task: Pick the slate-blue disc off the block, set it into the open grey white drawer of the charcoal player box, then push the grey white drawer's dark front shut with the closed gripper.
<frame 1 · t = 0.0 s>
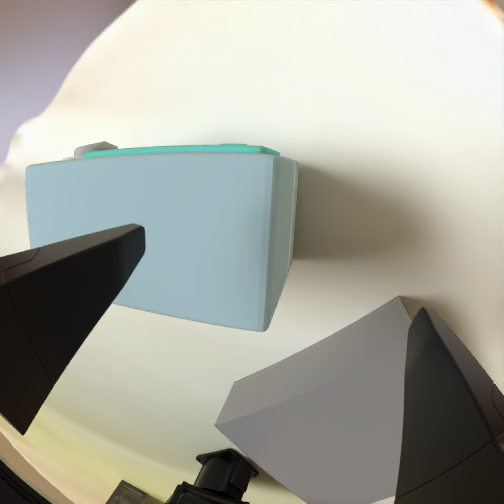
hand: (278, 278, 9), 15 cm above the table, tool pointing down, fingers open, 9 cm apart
radio: (202, 198, 25), on the table
cake mix box: (130, 499, 48), on the table
grey white drawer: (403, 486, 25), point 3 cm above the table, slide at 12.0 cm
player: (359, 411, 27), on the table
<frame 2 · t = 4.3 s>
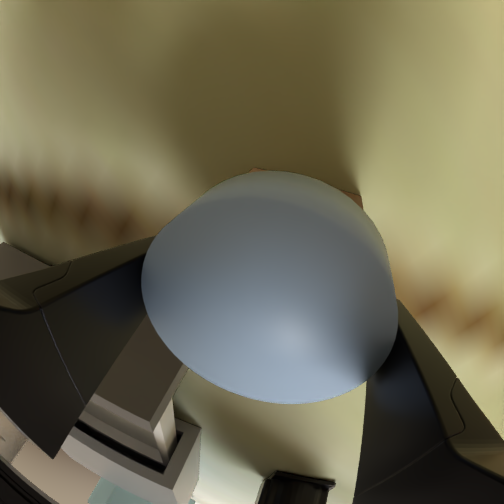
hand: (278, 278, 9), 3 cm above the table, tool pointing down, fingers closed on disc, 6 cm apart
radio: (154, 477, 44), on the table
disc: (277, 281, 9), point 3 cm above the table, touching gripper, block
grey white drawer: (82, 393, 19), point 3 cm above the table, slide at 12.0 cm
player: (129, 429, 29), on the table
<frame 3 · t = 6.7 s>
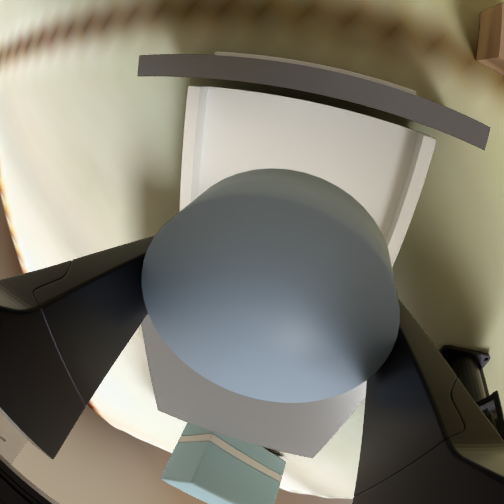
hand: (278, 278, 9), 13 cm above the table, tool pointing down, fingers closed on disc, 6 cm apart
radio: (237, 439, 43), on the table
block: (502, 48, 11), on the table
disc: (278, 279, 9), point 13 cm above the table, touching gripper
grey white drawer: (285, 229, 19), point 3 cm above the table, slide at 12.0 cm
player: (263, 341, 29), on the table
when the fingers open (3 cm above the table, at t = 9.2 s): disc drops 1 cm, resting on grey white drawer.
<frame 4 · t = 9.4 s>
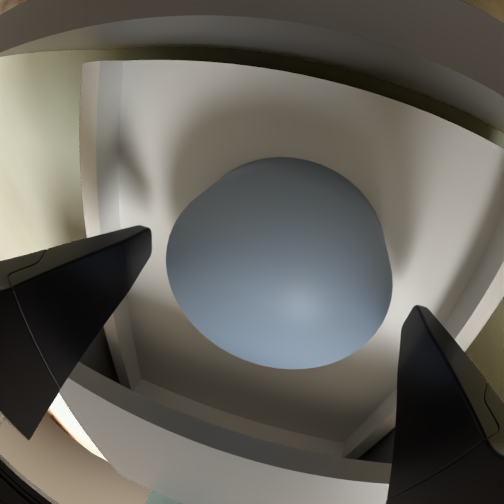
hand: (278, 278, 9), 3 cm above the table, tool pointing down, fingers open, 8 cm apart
radio: (218, 487, 34), on the table
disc: (285, 255, 10), point 2 cm above the table, touching grey white drawer
grey white drawer: (263, 330, 10), point 3 cm above the table, slide at 12.0 cm, touching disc
player: (240, 421, 20), on the table
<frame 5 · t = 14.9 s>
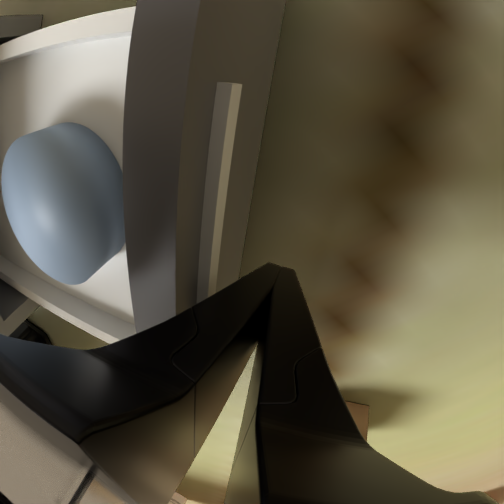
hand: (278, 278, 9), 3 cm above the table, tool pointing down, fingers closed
block: (328, 414, 17), on the table
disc: (74, 195, 11), point 2 cm above the table, touching grey white drawer
grey white drawer: (24, 197, 11), point 3 cm above the table, slide at 11.6 cm, touching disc, gripper
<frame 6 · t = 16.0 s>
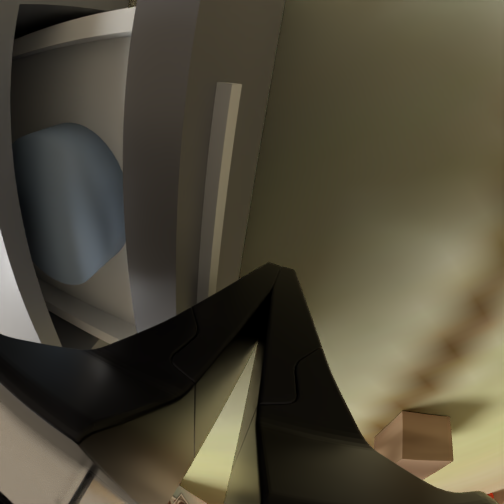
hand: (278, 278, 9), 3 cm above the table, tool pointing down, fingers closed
block: (411, 428, 16), on the table
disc: (74, 195, 11), point 2 cm above the table, touching grey white drawer
cake mix box: (179, 489, 44), on the table
grey white drawer: (24, 198, 11), point 3 cm above the table, slide at 5.2 cm, touching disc, gripper
player: (9, 161, 15), on the table
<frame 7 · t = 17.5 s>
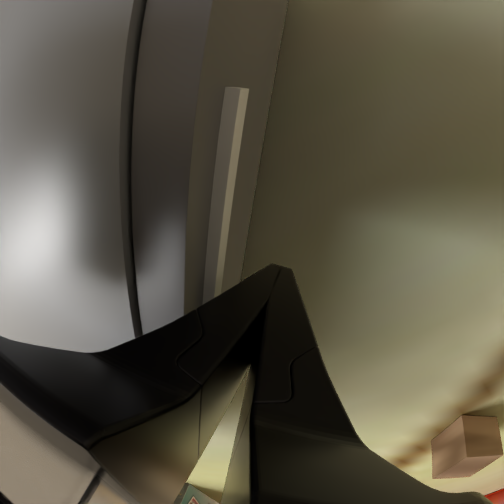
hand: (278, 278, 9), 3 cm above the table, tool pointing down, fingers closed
block: (464, 429, 16), on the table
cake mix box: (204, 498, 43), on the table
grey white drawer: (25, 200, 11), point 3 cm above the table, slide at -0.1 cm, touching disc, gripper
player: (53, 171, 14), on the table
red box: (487, 500, 27), on the table
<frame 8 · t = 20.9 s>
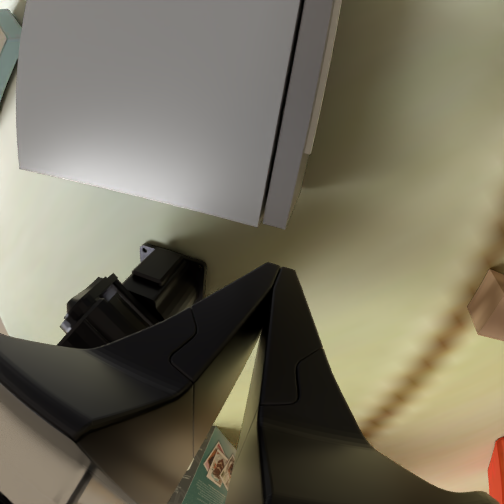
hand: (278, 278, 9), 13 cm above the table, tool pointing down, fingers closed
block: (493, 293, 20), on the table
cake mix box: (226, 452, 47), on the table
grey white drawer: (164, 44, 15), point 3 cm above the table, slide at 0.0 cm, touching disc
player: (167, 48, 18), on the table
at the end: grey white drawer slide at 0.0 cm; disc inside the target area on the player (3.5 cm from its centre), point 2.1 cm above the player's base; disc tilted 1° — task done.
